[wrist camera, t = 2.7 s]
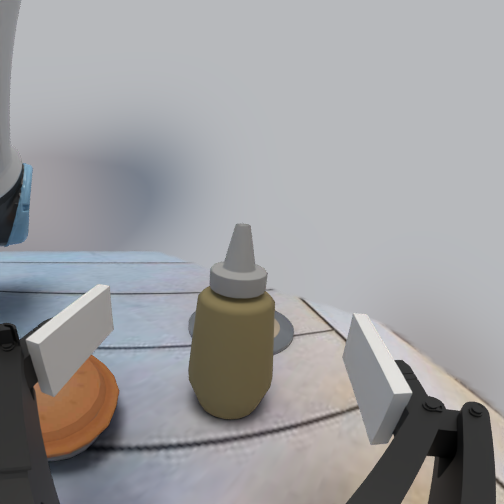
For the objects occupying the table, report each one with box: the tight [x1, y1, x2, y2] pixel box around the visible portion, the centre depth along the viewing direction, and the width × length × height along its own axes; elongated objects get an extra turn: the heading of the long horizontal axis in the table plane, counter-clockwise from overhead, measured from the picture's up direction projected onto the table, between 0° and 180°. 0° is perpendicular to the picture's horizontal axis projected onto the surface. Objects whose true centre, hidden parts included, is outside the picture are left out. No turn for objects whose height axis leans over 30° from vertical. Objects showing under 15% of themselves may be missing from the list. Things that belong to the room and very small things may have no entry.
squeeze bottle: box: [188, 224, 275, 419], centre depth 27 cm, size 8×8×18 cm
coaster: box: [189, 311, 294, 355], centre depth 44 cm, size 15×15×1 cm
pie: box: [34, 355, 119, 461], centre depth 21 cm, size 16×16×5 cm
